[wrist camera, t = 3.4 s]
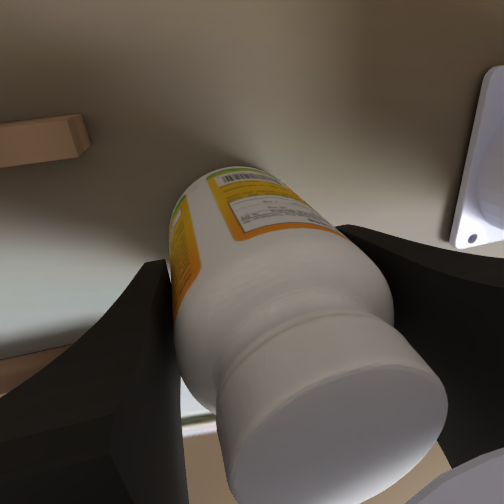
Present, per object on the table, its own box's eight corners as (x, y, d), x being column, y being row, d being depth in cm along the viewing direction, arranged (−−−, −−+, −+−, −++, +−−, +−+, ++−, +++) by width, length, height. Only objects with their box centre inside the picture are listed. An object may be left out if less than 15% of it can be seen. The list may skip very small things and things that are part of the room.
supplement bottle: (222, 305, 16) (293, 570, 7) (138, 221, 13) (96, 487, 5) (317, 235, 15) (514, 432, 7) (251, 133, 12) (438, 248, 4)
